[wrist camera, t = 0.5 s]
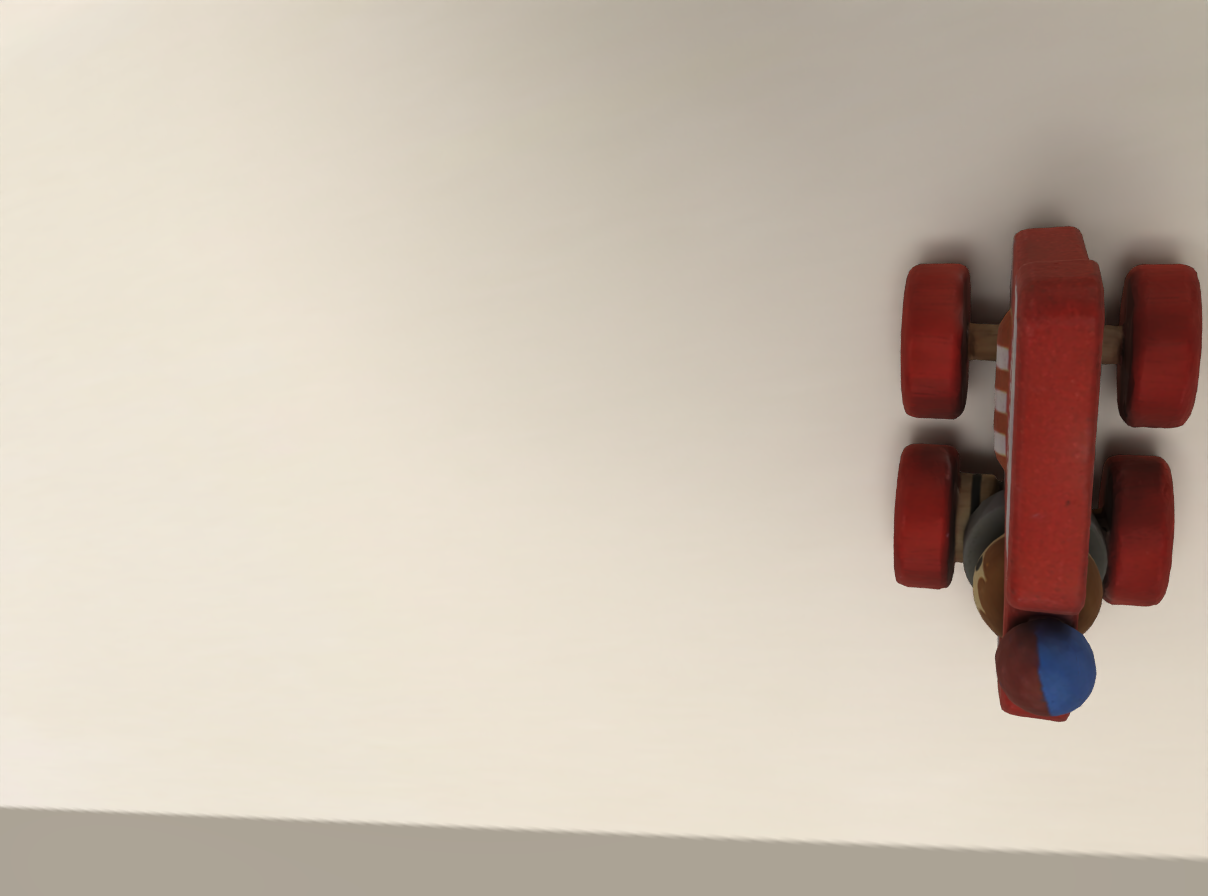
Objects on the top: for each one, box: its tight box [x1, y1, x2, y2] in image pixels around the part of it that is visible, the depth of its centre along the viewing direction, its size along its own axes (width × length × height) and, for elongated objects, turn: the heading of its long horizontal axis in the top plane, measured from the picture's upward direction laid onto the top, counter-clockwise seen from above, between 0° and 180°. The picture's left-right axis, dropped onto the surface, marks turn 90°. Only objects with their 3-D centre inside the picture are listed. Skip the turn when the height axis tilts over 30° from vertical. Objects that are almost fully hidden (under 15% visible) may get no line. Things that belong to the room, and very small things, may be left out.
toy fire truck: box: [894, 226, 1202, 722], centre depth 28 cm, size 7×12×10 cm, turn 3°
